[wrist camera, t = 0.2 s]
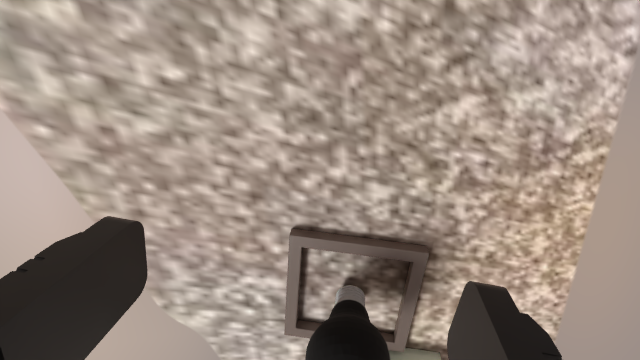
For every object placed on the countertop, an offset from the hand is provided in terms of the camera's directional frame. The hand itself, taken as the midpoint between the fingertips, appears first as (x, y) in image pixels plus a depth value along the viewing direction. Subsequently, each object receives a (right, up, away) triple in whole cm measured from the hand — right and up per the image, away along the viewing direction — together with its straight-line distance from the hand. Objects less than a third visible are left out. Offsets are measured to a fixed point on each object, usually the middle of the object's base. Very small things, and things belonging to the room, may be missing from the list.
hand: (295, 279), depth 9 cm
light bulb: (+3, -7, +22) cm, 24 cm away
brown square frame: (+3, -7, +22) cm, 24 cm away
